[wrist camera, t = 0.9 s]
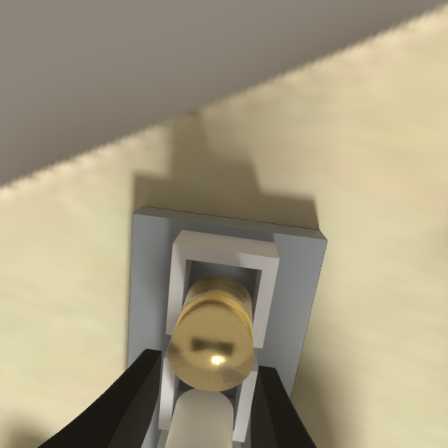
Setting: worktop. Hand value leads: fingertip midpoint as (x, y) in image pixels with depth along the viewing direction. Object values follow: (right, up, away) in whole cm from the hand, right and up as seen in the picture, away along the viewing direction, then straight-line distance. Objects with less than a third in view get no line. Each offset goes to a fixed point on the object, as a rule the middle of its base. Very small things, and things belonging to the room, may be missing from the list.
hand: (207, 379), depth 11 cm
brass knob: (0, +1, +5) cm, 5 cm away
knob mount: (0, -4, +12) cm, 13 cm away
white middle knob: (-1, -6, +7) cm, 9 cm away
